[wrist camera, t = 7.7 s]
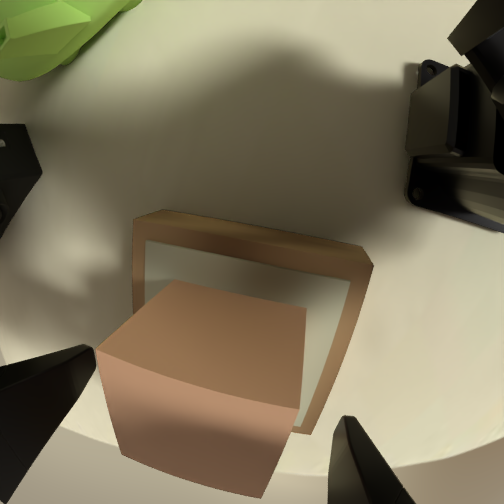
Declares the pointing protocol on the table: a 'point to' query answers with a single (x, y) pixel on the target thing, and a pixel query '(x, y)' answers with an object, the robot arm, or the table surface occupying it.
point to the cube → (206, 385)
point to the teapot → (49, 32)
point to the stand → (261, 282)
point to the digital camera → (15, 170)
